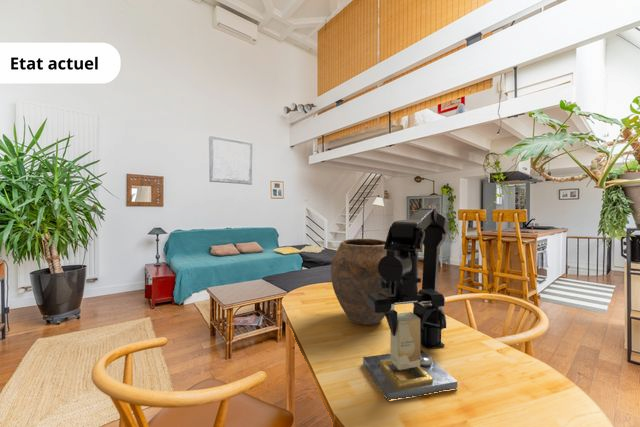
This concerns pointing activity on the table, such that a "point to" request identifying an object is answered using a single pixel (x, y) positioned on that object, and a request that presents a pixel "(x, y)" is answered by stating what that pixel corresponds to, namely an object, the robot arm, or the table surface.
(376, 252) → the vase
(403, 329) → the skincare box
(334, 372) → the table surface
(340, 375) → the table surface
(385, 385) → the grey slotted board
